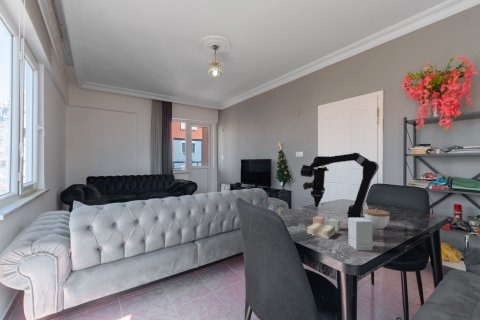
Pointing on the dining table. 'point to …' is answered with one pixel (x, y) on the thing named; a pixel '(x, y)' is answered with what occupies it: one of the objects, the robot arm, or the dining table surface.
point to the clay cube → (318, 220)
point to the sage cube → (335, 223)
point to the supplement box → (360, 233)
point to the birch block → (321, 230)
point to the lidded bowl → (377, 217)
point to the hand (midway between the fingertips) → (317, 205)
